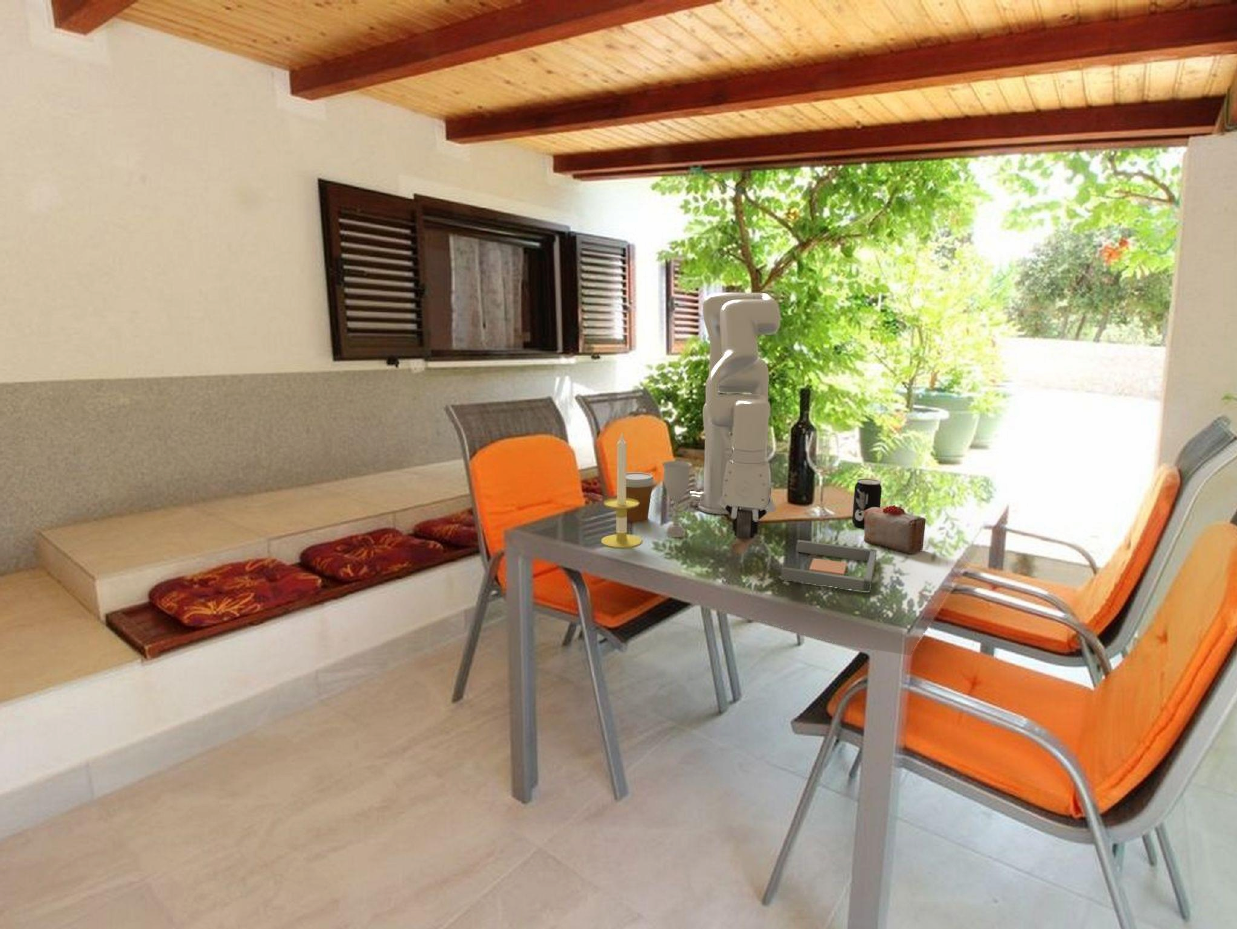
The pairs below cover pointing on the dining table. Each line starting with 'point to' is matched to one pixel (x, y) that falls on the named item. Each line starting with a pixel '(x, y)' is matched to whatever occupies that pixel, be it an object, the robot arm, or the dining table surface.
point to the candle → (621, 505)
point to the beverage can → (865, 499)
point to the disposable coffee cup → (639, 495)
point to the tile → (828, 566)
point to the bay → (833, 579)
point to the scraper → (743, 531)
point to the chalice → (676, 490)
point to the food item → (894, 529)
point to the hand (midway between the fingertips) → (745, 534)
